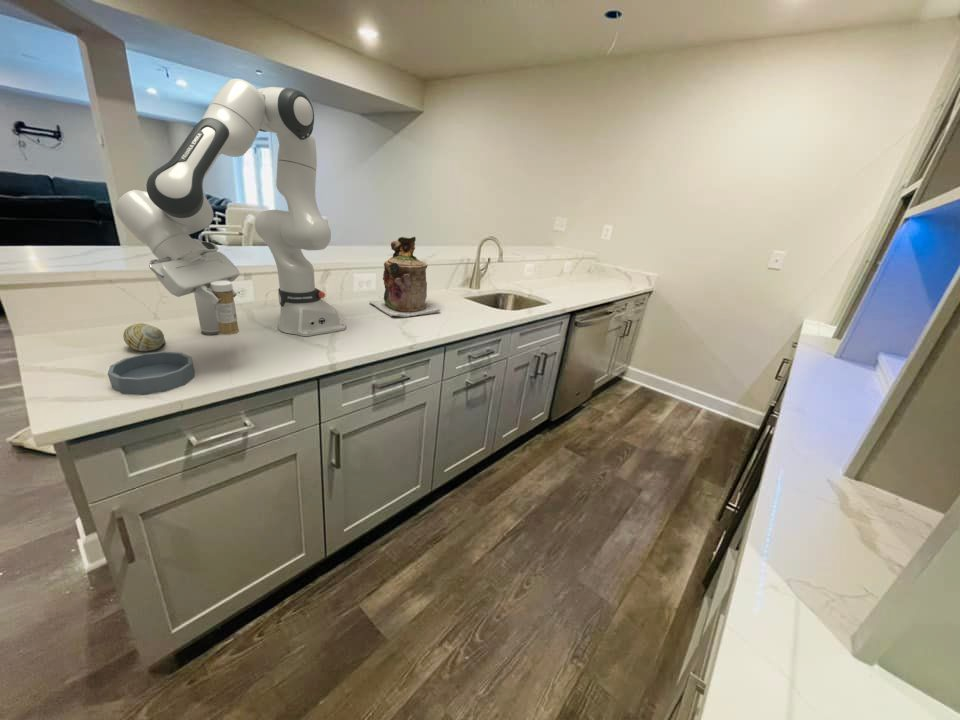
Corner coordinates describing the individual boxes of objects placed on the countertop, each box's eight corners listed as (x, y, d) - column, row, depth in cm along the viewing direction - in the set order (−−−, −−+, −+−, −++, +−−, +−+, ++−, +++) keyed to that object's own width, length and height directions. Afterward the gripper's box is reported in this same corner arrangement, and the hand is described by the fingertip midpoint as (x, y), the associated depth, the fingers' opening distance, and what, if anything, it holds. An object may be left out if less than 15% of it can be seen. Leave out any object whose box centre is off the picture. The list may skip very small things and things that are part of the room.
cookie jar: (414, 299, 189) (417, 231, 176) (442, 313, 172) (448, 240, 159) (366, 303, 173) (366, 229, 161) (393, 319, 157) (395, 239, 144)
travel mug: (195, 332, 123) (183, 270, 115) (214, 327, 128) (204, 267, 120) (210, 337, 121) (199, 274, 113) (229, 331, 127) (219, 271, 119)
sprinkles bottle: (225, 328, 103) (216, 279, 97) (243, 330, 103) (235, 280, 98) (215, 334, 98) (205, 283, 93) (233, 336, 99) (225, 285, 93)
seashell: (144, 335, 115) (153, 309, 111) (172, 354, 116) (181, 328, 112) (108, 345, 106) (116, 316, 102) (139, 365, 106) (147, 338, 102)
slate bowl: (194, 362, 105) (191, 348, 103) (195, 387, 93) (192, 372, 92) (117, 371, 96) (113, 356, 95) (108, 399, 85) (103, 384, 83)
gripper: (151, 252, 83) (202, 302, 87) (218, 242, 102) (258, 283, 105) (136, 270, 85) (186, 318, 89) (205, 257, 104) (244, 297, 107)
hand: (226, 299), depth 97 cm, fingers closed on sprinkles bottle, 4 cm apart
